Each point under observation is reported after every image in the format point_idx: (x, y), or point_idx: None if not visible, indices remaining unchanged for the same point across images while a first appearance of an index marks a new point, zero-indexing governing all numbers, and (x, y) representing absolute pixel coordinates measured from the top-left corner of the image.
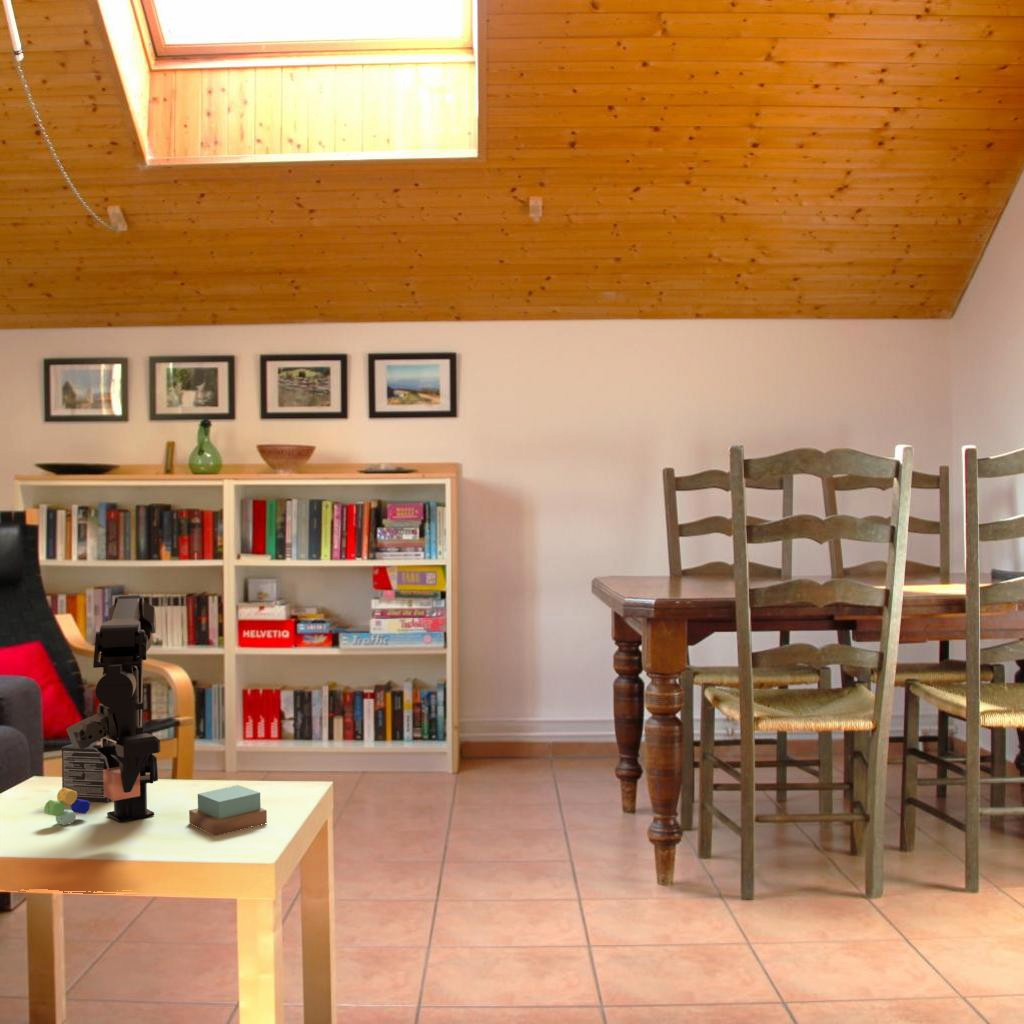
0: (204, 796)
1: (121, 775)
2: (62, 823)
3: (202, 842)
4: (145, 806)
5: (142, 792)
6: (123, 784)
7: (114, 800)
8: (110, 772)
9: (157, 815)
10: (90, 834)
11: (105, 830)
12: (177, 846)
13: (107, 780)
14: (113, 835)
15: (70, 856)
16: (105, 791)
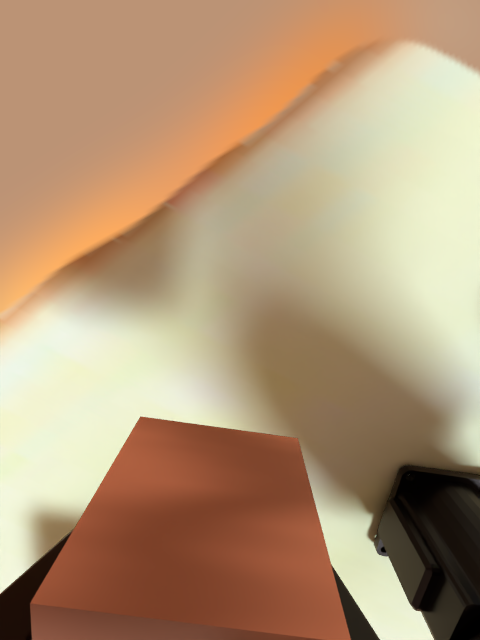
0: None
1: (16, 624)
2: None
3: (52, 495)
4: (389, 557)
5: (422, 606)
6: (65, 542)
7: (140, 421)
8: (133, 618)
9: (371, 551)
10: (381, 357)
11: (376, 404)
12: (66, 443)
13: (229, 524)
14: (308, 393)
15: (219, 198)
16: (270, 456)
